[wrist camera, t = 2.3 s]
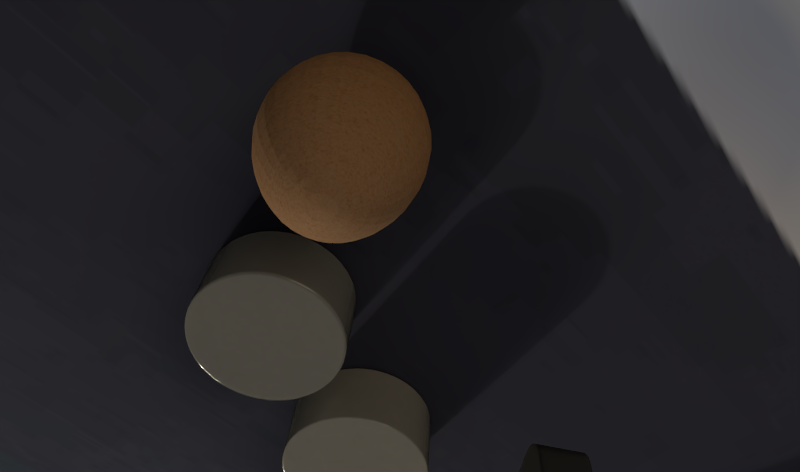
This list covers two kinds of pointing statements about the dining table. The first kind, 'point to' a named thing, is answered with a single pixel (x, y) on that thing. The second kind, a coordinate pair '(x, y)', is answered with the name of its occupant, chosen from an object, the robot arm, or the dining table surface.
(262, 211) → the dining table surface
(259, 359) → the grey short cylinder
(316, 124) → the egg
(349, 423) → the grey short cylinder
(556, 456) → the robot arm
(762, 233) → the dining table surface
